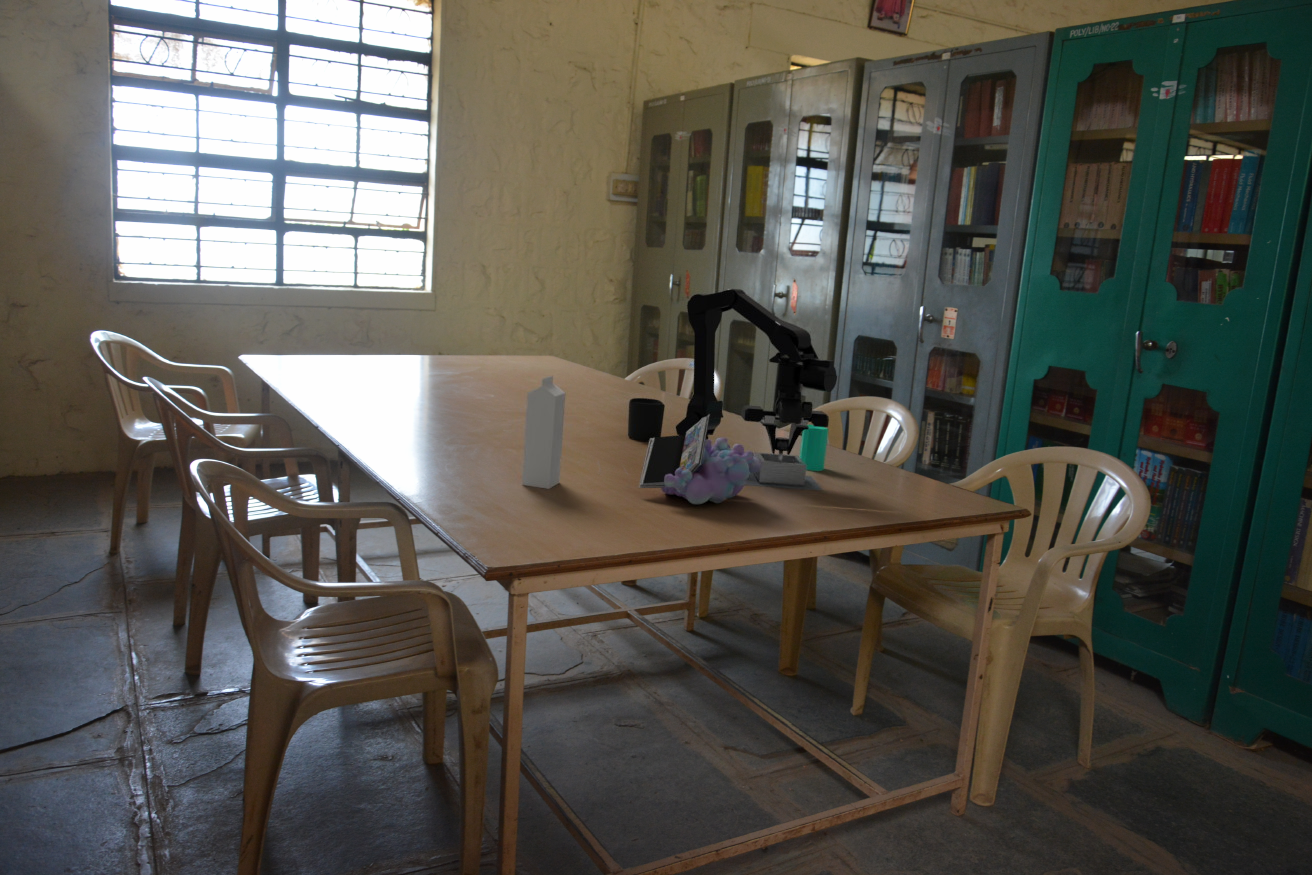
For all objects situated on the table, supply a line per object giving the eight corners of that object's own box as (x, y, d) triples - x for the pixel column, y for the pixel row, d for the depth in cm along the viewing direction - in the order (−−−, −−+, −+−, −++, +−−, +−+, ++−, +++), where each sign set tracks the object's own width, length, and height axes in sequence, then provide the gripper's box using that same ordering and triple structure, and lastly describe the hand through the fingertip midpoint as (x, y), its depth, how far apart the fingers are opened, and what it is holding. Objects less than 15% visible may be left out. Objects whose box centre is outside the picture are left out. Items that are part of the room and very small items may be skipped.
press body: (746, 482, 208) (748, 460, 207) (740, 472, 218) (742, 451, 217) (803, 487, 209) (806, 465, 208) (795, 476, 218) (797, 455, 218)
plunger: (765, 477, 209) (769, 440, 208) (761, 470, 216) (765, 434, 215) (796, 479, 210) (800, 442, 208) (790, 472, 217) (794, 436, 215)
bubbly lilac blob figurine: (783, 487, 187) (761, 404, 192) (702, 492, 174) (680, 402, 178) (718, 516, 202) (699, 437, 207) (638, 522, 189) (620, 438, 193)
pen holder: (668, 439, 251) (671, 402, 249) (649, 443, 243) (652, 405, 242) (639, 433, 256) (642, 397, 254) (619, 437, 248) (622, 399, 246)
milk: (521, 485, 190) (527, 376, 186) (532, 479, 196) (538, 373, 192) (549, 489, 189) (556, 380, 185) (560, 482, 195) (566, 377, 191)
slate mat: (742, 486, 206) (742, 484, 206) (734, 471, 220) (734, 470, 220) (823, 492, 207) (823, 490, 207) (810, 477, 221) (810, 475, 221)
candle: (823, 473, 226) (829, 424, 224) (797, 470, 227) (803, 421, 225) (823, 468, 232) (829, 420, 230) (799, 465, 233) (804, 417, 231)
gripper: (752, 387, 201) (744, 458, 204) (838, 393, 202) (829, 464, 205) (744, 380, 212) (737, 448, 215) (826, 386, 213) (818, 454, 216)
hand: (780, 453), depth 212 cm, fingers closed on plunger, 3 cm apart
